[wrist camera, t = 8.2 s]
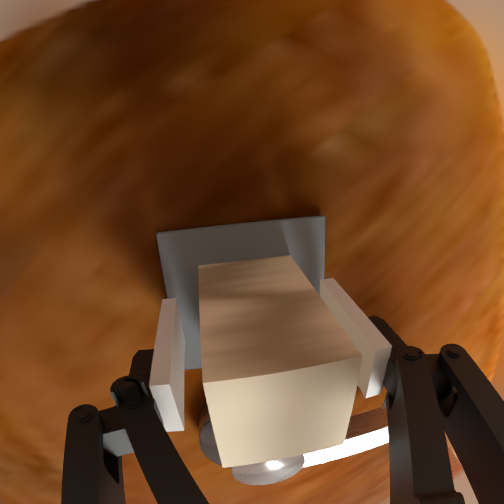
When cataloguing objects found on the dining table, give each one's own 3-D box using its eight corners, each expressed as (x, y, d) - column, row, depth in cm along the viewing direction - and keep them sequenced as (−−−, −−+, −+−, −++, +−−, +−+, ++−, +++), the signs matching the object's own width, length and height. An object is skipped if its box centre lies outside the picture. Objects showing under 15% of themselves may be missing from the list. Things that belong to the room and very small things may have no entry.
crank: (231, 464, 21) (247, 554, 13) (224, 428, 19) (241, 535, 12) (405, 421, 23) (449, 489, 15) (419, 381, 21) (476, 454, 14)
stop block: (209, 341, 19) (222, 467, 11) (198, 265, 17) (202, 382, 9) (290, 330, 20) (343, 444, 11) (290, 255, 18) (362, 355, 10)
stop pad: (183, 366, 20) (183, 369, 19) (157, 232, 17) (156, 234, 16) (318, 347, 21) (320, 350, 21) (323, 215, 18) (325, 216, 17)
